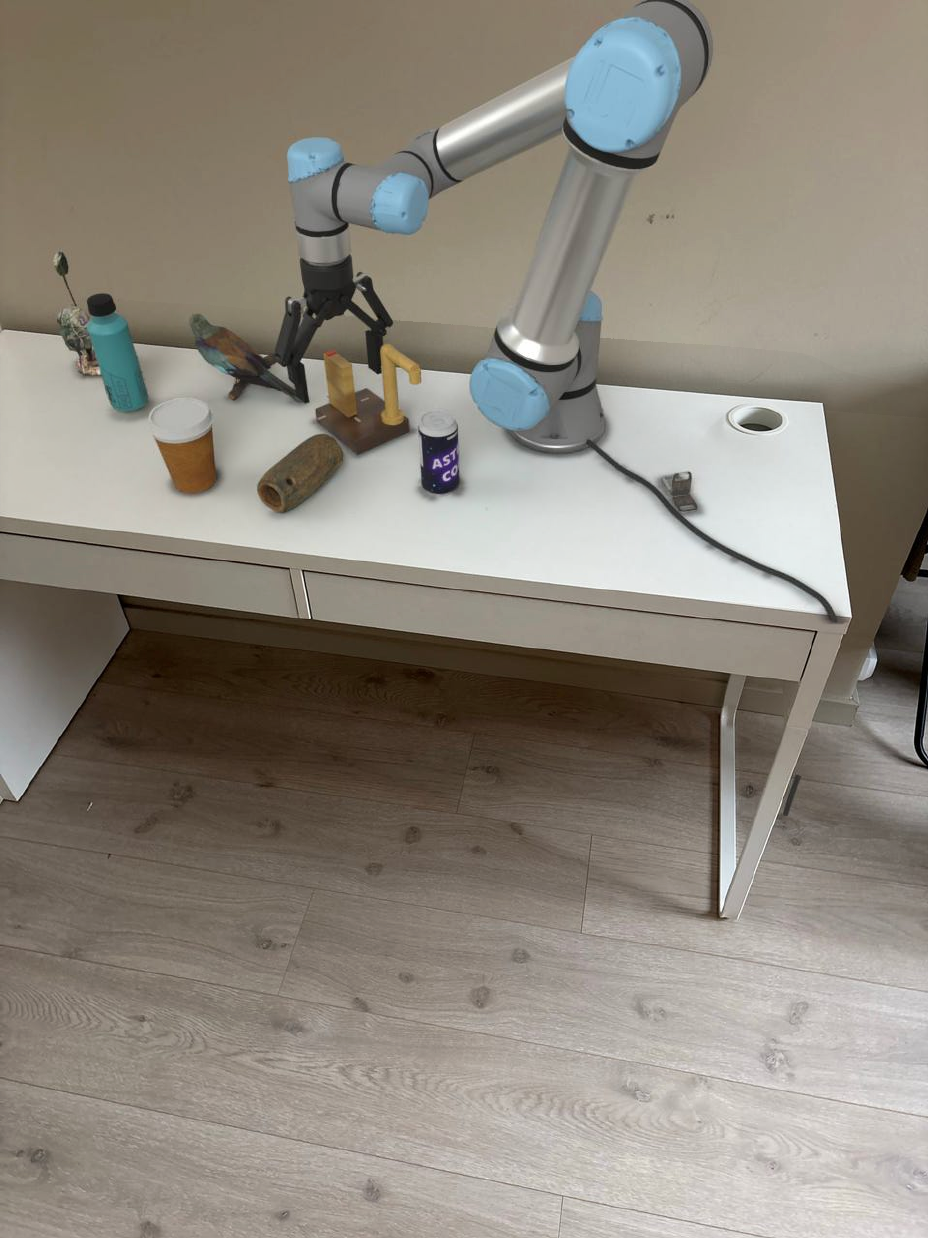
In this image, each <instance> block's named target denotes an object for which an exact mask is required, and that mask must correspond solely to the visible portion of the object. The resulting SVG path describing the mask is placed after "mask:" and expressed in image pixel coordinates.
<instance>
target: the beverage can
mask: <svg viewBox="0 0 928 1238" xmlns="http://www.w3.org/2000/svg"><path fill="white" fill-rule="evenodd" d="M417 428H418V429H417V430H418V431H417V432H418V445H419V446H418V447H419V464H420V465H419V466H420V481H421V487H422V488H423V490H425V491H426V492H428V493H429V494H431V495H433V496H439V497H442V496H443V497H444V496H448V495H450V494H452V493H453V492H454V491H455V490H456V489H457V488H458V487H459V486H460V454H459V453H460V451H459V425H458V422H457V421H456V417H455V415H454V414H453V413H452V412H450V411H448V410H445V409H433V410H429V411H427V412H425V413H423V415H421V417H420V422H419V424H418V427H417Z"/></svg>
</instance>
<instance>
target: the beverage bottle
mask: <svg viewBox="0 0 928 1238" xmlns="http://www.w3.org/2000/svg"><path fill="white" fill-rule="evenodd" d="M86 305H87V311H88V314H89V315H90V316H92V318H90V322H89V323H88V325H87V331H88V333H89V336H90V339H91V342H92V345H93V349H94V352H95V356H96V359H97V362H98V365H99V369H100V370H99V371H100V372H101V374H100V376H101V380H102V381H103V382H102V383H103V387H104V390H105V393H106V395H107V400H108V402H109V404H110V405H111V407H112V408H113V409H114V410H116V411H119V412H133V411H136V410H139V409H141V408H143V407H144V406H146V404H147V403H148V401H149V397H150V396H149V392H148V390H147V389H148V388H147V385H146V382H145V381H146V379H145V378H144V375H143V371H142V366H141V363H140V360H139V359H140V358H139V357H138V355H137V351H136V349H135V345H134V342H133V337H132V334H131V331H130V328H129V322H128V319H127V318H126V317H124V315H121V314H119V313H117V312H116V310H117V305H116V303H115V301H114V298H113V296H112V294H109V293H106V292H104V293H103V292H100V293H95V294H92V295H90V296H89V297H87V299H86Z"/></svg>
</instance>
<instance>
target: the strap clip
mask: <svg viewBox="0 0 928 1238" xmlns="http://www.w3.org/2000/svg"><path fill="white" fill-rule="evenodd" d="M684 475H688V478H683V476H684ZM692 481H693V475H692V472H691V471H690V470H688V471H681V472H674V474H667V475H663V476H662V477H661V482H662V486H663V487H664V489H665V491H666V492H667V493H668V494H669V495H671V496H672V498H671V501H672V503H673V505H674V508H675V509H676V510H677V511H678V512H679V513H680V514H684V513H692V512H697V511H698V504H697V502H695V500H694V498H693V497H692V496H691V495H690V493H691V488H692ZM690 507H693V508H690ZM685 508H688V509H685Z"/></svg>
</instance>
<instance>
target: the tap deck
mask: <svg viewBox="0 0 928 1238" xmlns="http://www.w3.org/2000/svg"><path fill="white" fill-rule="evenodd" d="M326 398H327V399H329V395H326ZM355 398H356V407H357V414H356V415H353V416H351V417H349V418H348V417H347V416H345V415H344V414H343V413H341V412H340V411H339V410H338V409H336V408H335V407H334V406H332V405H331V404H330V402H328V403H326V404H323V405H321V406H319V407H316V408H315V417H316V422H317V424H319V425H320V426H322V428H324V429H325V430H326V431H328V433H330V434H331V435H332V436H334V437H335V438H337V439H338V441H340V442H341V443H342V444H344V445H345V446H346V447H347V448H348V449H350V450H351V451H352V452H354V453H355V454H356V455H360V454H363V453H365V452H368V451H369V450H372V449H375V448H376V447H378V446H380V445H383V444H385V443H388V442H391V441H392V440H394V439H397V438H399V437H401V436H404V435H406V434H408V433H410V420H409V418H408V417H407V416H405V415H404V420H403V422H402V423H400V424H397V425H387V424H385V423H383V422H382V418H381V413H382V412H383V411H384V410H385V401H384V399H382V398H381V397H380V396H378V395H377V394H376V393H374V392H373V391H372V390H371V389H369V388H367V387H365V388H362V389H360V390H358V391H355Z"/></svg>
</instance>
